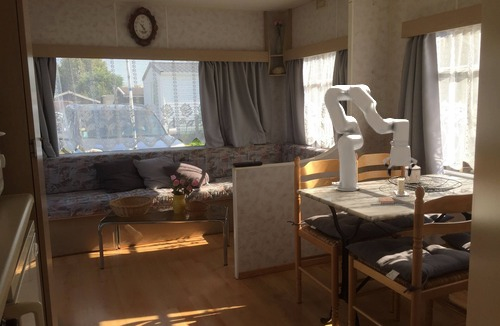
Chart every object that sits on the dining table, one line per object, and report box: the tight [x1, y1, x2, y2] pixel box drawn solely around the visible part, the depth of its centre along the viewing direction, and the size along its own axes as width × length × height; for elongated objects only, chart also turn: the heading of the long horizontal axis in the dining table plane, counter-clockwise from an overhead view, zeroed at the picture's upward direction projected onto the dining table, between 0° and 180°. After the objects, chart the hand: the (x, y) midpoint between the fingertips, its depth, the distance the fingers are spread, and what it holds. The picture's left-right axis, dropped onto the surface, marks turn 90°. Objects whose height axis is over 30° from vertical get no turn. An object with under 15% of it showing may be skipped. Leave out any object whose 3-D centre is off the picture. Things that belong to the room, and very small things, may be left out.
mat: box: [370, 203, 406, 207], centre depth 214 cm, size 16×16×1 cm
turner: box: [392, 178, 409, 196], centre depth 226 cm, size 6×10×8 cm, turn 171°
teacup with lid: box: [404, 162, 421, 184], centre depth 256 cm, size 12×9×12 cm
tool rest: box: [389, 190, 414, 198], centre depth 227 cm, size 10×13×1 cm
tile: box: [378, 196, 395, 204], centre depth 213 cm, size 6×2×8 cm
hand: (399, 175), depth 226 cm, fingers open, 9 cm apart
